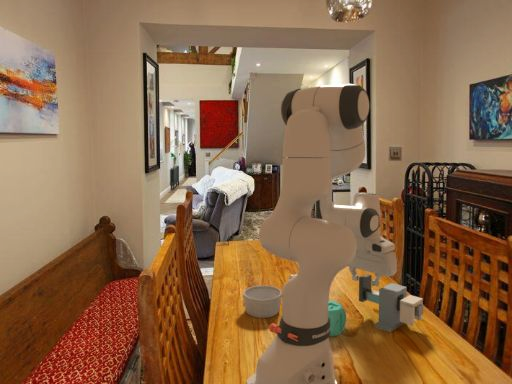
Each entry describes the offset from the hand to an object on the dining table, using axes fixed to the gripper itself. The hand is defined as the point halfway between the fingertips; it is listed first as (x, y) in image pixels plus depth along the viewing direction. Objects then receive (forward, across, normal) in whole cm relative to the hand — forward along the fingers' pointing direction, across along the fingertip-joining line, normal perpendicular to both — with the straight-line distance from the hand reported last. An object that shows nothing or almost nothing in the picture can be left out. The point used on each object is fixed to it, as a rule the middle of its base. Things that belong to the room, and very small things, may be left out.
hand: (365, 282), depth 125 cm
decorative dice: (+11, -1, -18) cm, 21 cm away
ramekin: (+11, -25, -23) cm, 36 cm away
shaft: (+6, +9, 0) cm, 11 cm away
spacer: (+8, +16, 0) cm, 18 cm away
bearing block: (+11, +10, 0) cm, 15 cm away
